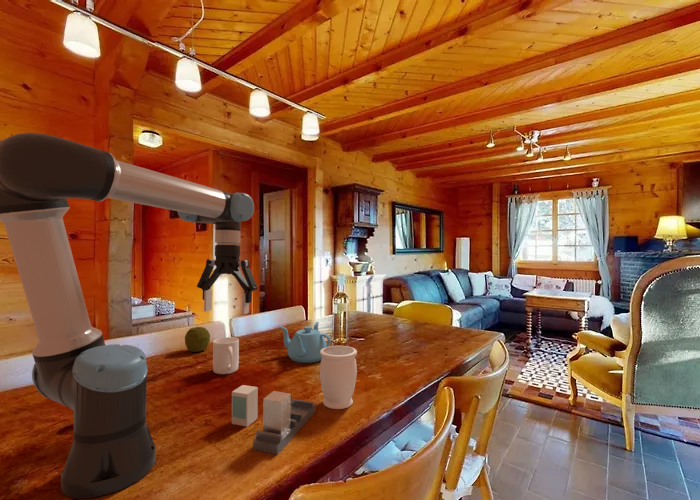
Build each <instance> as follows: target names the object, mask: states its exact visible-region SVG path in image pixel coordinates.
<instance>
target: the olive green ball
mask: <svg viewBox="0 0 700 500" xmlns="http://www.w3.org/2000/svg"><path fill="white" fill-rule="evenodd" d="M210 341H211V334H210V332H209V330H208V329H207V328H206V327H203V326H198V325H196V326H195V327H192V328H190V329H189V330H188V331H187V332H186V333H185V336H184V344H185V346H186V349H187V350H188V351H189V352H192V353H199V352H202V351H204V350H206V349H207V348H208V346H209V343H210Z"/></svg>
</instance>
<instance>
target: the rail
mask: <svg viewBox="0 0 700 500" xmlns="http://www.w3.org/2000/svg"><path fill="white" fill-rule="evenodd" d="M291 397H292V395H291V393H290V392H289V393H288V392H283V391H276V390H273V391H271V392H270V393H269V394H268V395H266V396H265V397H264V398H263V403H262V406H263V407H262V412H263V413H262V421H263V422H262V430H258V429H257V431H255V432H256V433H255V438H254V439H253V440H252V450H254V451H258V452H262V451H263V453H267V452H268V453H267V454H271V453H272V454H271V455H277V456H278V455H279V454H280V453H281V452H282V450H284V448H285V447H286V446H287V445H288V444H289V442H290V441H291V440H292V439H293V438H294V437H295V436H296V434H297V433H299V431H300V430H301V429H302V428H303V426H304V425H305V424H306V423H307V422H308V421H309V420H310V418H312V417H313V415H314V414H315V413H316V404H314V401H310V400H309V401H308V400H303V399H299V398H291ZM279 452H280V453H279Z"/></svg>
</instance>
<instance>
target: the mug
mask: <svg viewBox="0 0 700 500" xmlns="http://www.w3.org/2000/svg"><path fill="white" fill-rule="evenodd" d="M239 342H240V341H239V338H238V337H232V336H228V337H226V336H225V337H220V338H216V339H213V341H212V371H213V373H214V374H216V375H217V374H218V375H229V374H232V373H235V372H236V371H238V369H239V363H240V362H239V357H240V356H239V354H240V352H239V351H240V350H239V349H240V343H239Z"/></svg>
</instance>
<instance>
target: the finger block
mask: <svg viewBox="0 0 700 500" xmlns="http://www.w3.org/2000/svg"><path fill="white" fill-rule="evenodd" d="M258 389H259V387H257V386H251V385H245V384H242V385H240V386H238V387H237V388H235V389H233V391H231V425H236V426H243V427H247V428H248V427H249V426H250V425H251V424H252V423H254V422H255V421H256V420H257V419H258V415H259V414H258V413H259V411H258V410H259V409H258V407H259V406H258V405H259V404H258V403H259V401H258V400H259V397H258V396H259V395H258V394H259V393H258V391H259V390H258Z"/></svg>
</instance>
